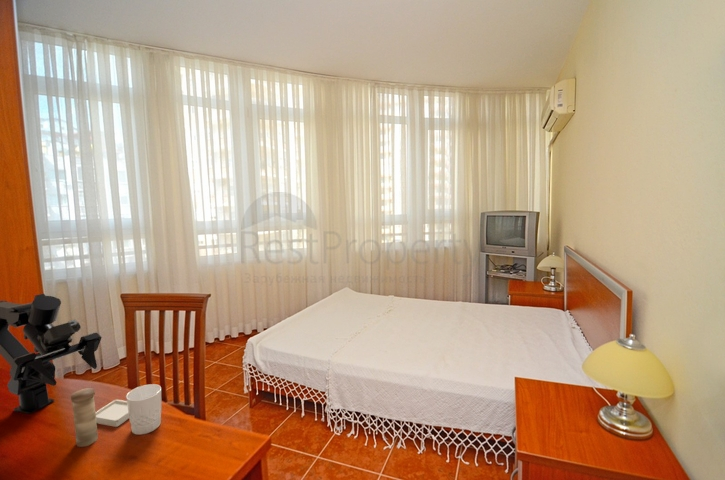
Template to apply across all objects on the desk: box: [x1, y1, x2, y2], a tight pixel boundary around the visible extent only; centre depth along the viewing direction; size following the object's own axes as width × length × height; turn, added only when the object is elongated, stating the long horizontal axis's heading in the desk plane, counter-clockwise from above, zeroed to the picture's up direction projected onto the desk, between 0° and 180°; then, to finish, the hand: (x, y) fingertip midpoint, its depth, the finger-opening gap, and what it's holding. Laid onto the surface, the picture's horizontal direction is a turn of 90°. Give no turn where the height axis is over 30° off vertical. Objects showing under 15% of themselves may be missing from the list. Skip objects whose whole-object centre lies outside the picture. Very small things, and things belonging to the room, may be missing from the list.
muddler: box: [70, 387, 99, 448], centre depth 86 cm, size 5×5×13 cm
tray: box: [95, 398, 130, 428], centre depth 97 cm, size 9×8×2 cm
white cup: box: [125, 383, 162, 436], centre depth 92 cm, size 8×8×10 cm
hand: (76, 375), depth 90 cm, fingers open, 9 cm apart
